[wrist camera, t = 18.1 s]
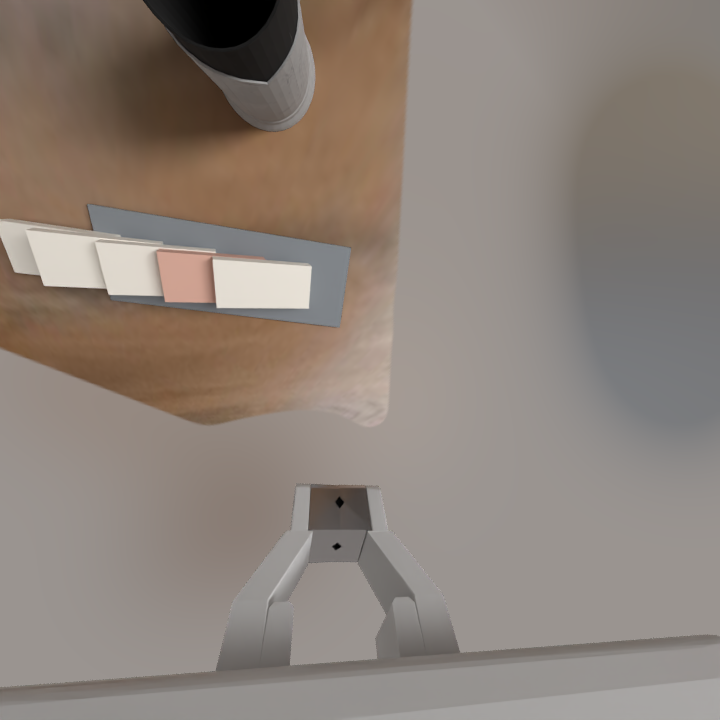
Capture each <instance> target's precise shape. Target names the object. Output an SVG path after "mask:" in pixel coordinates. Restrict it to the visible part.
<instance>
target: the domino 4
mask: <svg viewBox="0 0 720 720" xmlns="http://www.w3.org/2000/svg"><path fill="white" fill-rule="evenodd" d="M156 252H157V258H158V264H159V270H160V275H161V281H162V287H163V292H164V298H165V302H194V303H216V294H215V282H214V271H213V260H212V256H218V257H232V258H245V259H258V260H265V258H264V257H259V256H247V255H234V254H222V253H209V252H196V251H184V250H171V249H158V250H157V251H156Z"/></svg>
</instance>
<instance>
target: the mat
mask: <svg viewBox="0 0 720 720" xmlns="http://www.w3.org/2000/svg"><path fill="white" fill-rule="evenodd" d="M87 206H88V210H89V214H90V218H91V222H92V226H93V230H94V231H97V232H104V233H111V234H118V235H120V236H121V237H125V238H135V239H144V240H153V241H162V242H163V245H174V246H186V247H197V248H209V249H216V253H222V254H234V255H247V256H259V257H264V258H265V260H272V261H285V262H299V263H308V264H310V265H311V266H312V269H311V284H310V298H309V309H295V308H217V305H216V303H194V302H165V298H164V296H140V295H110V298H111V300H116V301H124V302H132V303H141V304H149V305H157V306H166V307H174V308H182V309H190V310H199V311H207V312H215V313H224V314H232V315H240V316H249V317H257V318H265V319H274V320H282V321H290V322H299V323H307V324H315V325H323V326H332V327H340V321H341V314H342V307H343V300H344V293H345V286H346V279H347V272H348V265H349V258H350V251H351V248H350V247H344V246H338V245H332V244H326V243H320V242H314V241H308V240H302V239H296V238H290V237H284V236H278V235H272V234H266V233H260V232H254V231H248V230H242V229H236V228H230V227H224V226H218V225H212V224H206V223H200V222H194V221H188V220H182V219H176V218H170V217H164V216H158V215H152V214H146V213H140V212H134V211H128V210H122V209H116V208H110V207H104V206H98V205H92V204H87Z"/></svg>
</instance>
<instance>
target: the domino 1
mask: <svg viewBox="0 0 720 720" xmlns="http://www.w3.org/2000/svg"><path fill="white" fill-rule="evenodd" d="M30 228H42V229H51V230H60V231H70V232H79V233H88V234H98V235H107V236H116V237H121V236H120V235H118V234H111V233H104V232H97V231H90V230H83V229H77V228H70V227H63V226H56V225H49V224H42V223H35V222H29V221H22V220H15V219H0V237H1V239H2V242H3V244H4V247H5V249H6V252H7V254H8V257H9V259H10V261H11V264H12V266H13V269H14V271H15V272H16V273H24V274H32V275H40V272H39V269H38V266H37V263H36V261H35V258H34V255H33V252H32V249H31V246H30V243H29V240H28V237H27V234H26V231H25V230H27V229H30ZM40 276H41V275H40Z"/></svg>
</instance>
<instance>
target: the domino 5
mask: <svg viewBox="0 0 720 720" xmlns="http://www.w3.org/2000/svg"><path fill="white" fill-rule="evenodd" d="M212 260H213V271H214V282H215V294H216V305H217V308H295V309H309V298H310V284H311V269H312V266H311V265H310V264H308V263H299V262H285V261H272V260H258V259H245V258H232V257H218V256H212Z"/></svg>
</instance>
